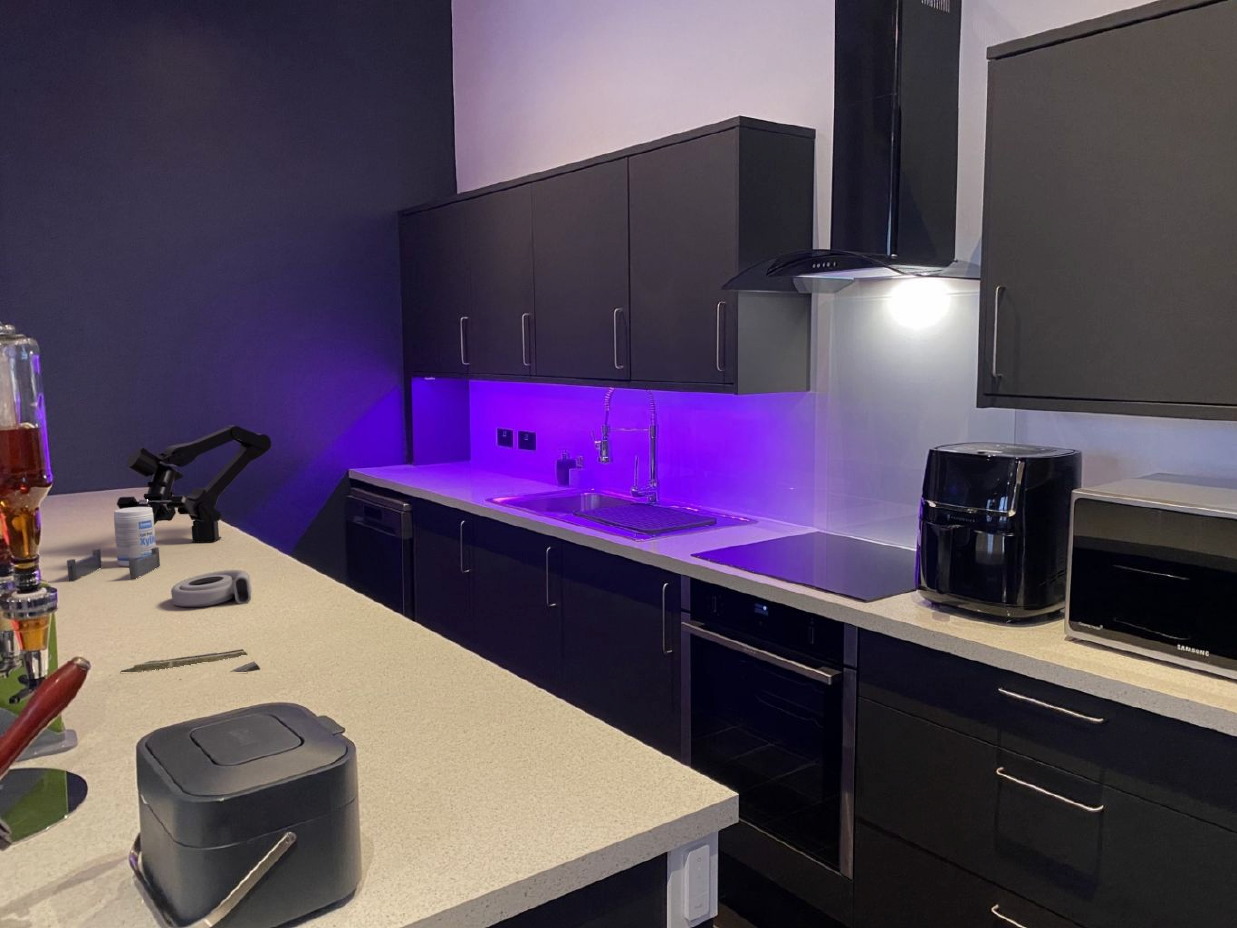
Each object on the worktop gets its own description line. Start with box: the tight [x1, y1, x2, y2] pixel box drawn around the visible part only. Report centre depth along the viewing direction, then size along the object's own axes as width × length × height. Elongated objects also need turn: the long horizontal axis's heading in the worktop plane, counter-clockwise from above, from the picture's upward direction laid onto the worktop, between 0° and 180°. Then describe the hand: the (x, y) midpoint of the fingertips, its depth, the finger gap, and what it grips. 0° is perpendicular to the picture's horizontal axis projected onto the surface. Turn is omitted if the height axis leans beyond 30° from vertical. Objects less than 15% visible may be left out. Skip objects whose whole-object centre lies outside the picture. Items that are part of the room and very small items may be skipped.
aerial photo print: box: [120, 649, 261, 681], centre depth 173 cm, size 25×19×2 cm
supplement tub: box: [113, 507, 157, 567], centre depth 263 cm, size 10×10×15 cm
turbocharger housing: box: [170, 569, 252, 608], centre depth 224 cm, size 17×6×15 cm
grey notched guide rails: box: [66, 546, 161, 582], centre depth 251 cm, size 16×14×5 cm
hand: (146, 530), depth 270 cm, fingers closed
